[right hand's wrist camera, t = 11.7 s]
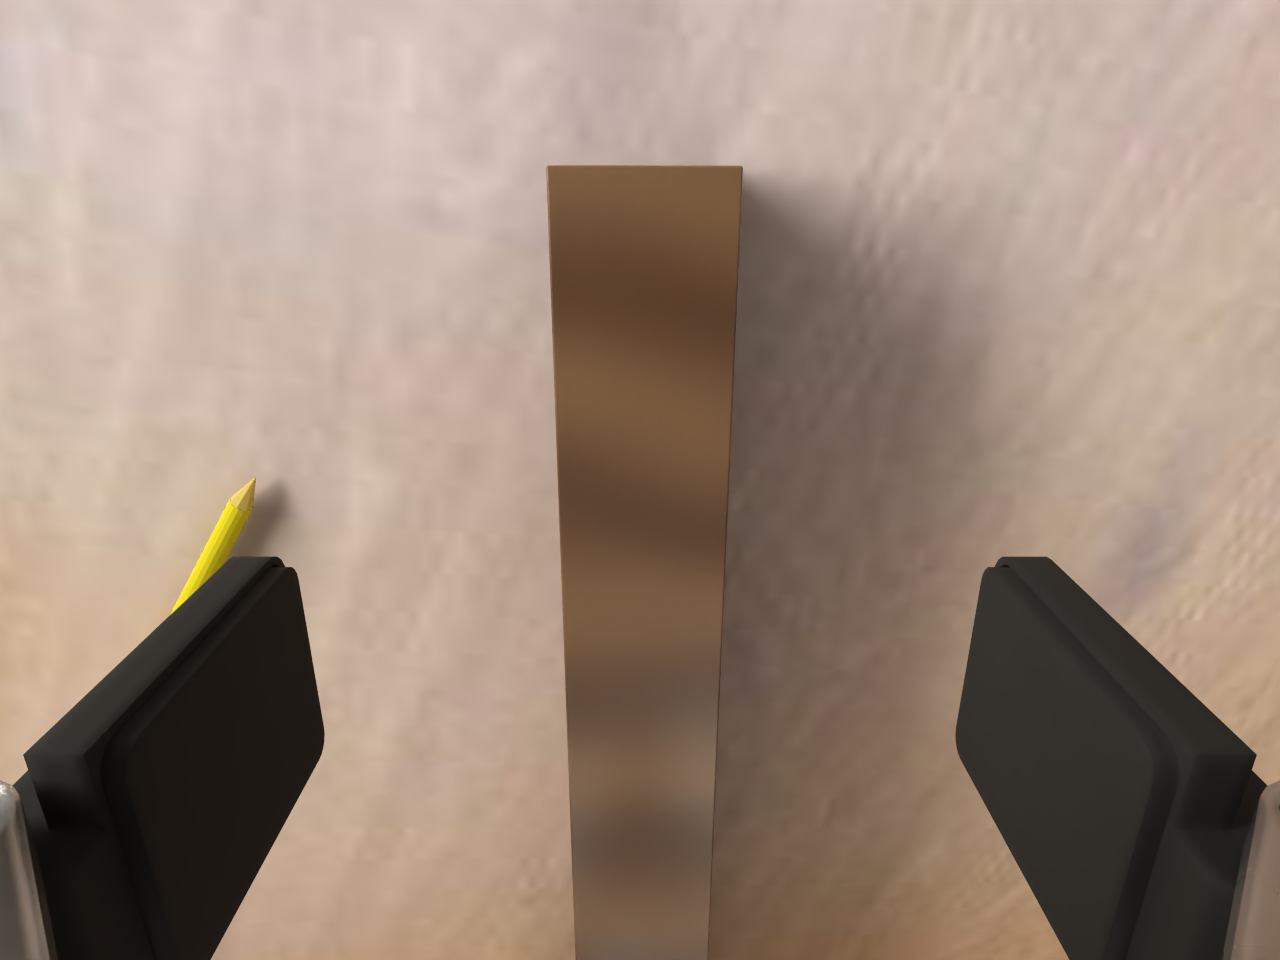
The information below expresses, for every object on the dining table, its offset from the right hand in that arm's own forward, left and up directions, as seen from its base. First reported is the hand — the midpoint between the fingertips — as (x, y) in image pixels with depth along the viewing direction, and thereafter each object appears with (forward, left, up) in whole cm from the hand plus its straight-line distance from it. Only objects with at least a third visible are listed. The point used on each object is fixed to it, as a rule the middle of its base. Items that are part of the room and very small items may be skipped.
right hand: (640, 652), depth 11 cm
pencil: (+8, -23, -23) cm, 33 cm away
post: (+26, -6, -23) cm, 35 cm away
